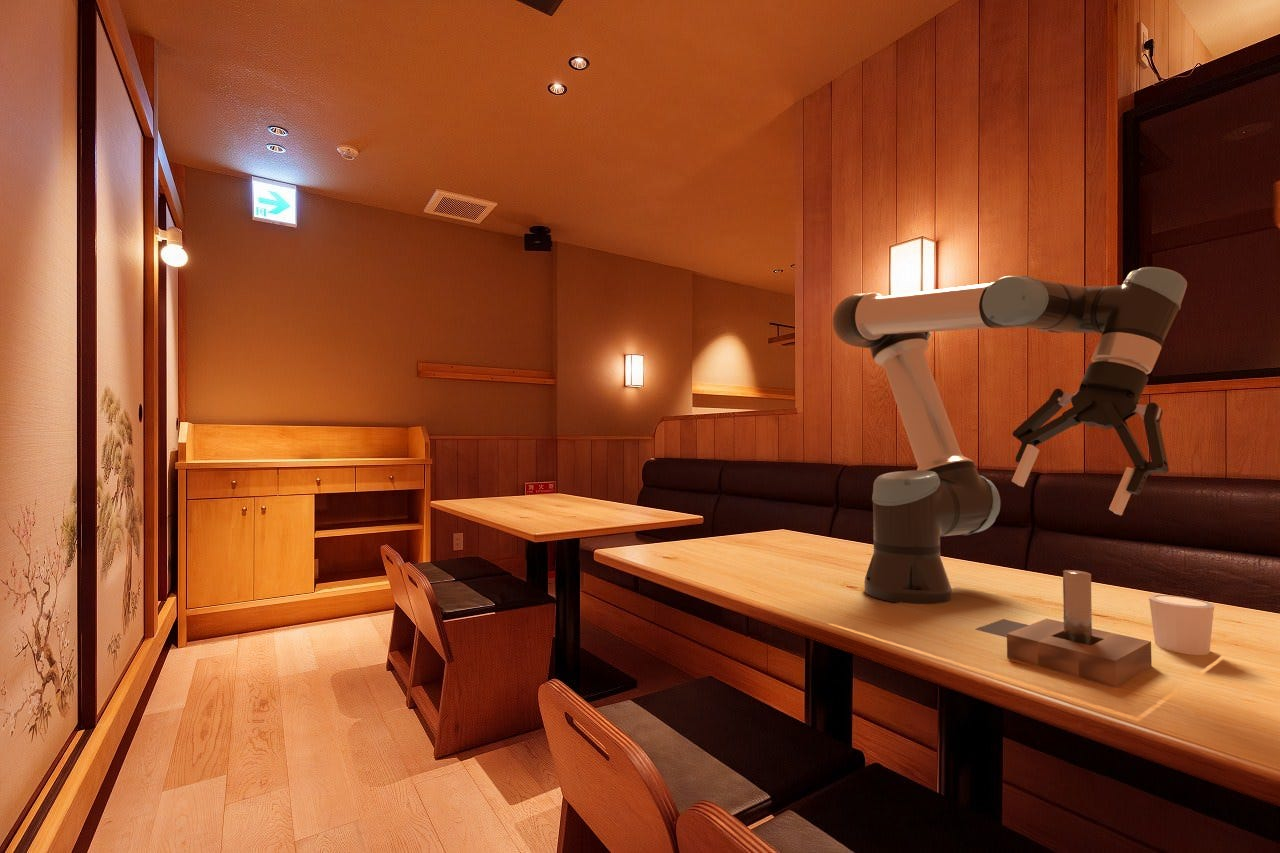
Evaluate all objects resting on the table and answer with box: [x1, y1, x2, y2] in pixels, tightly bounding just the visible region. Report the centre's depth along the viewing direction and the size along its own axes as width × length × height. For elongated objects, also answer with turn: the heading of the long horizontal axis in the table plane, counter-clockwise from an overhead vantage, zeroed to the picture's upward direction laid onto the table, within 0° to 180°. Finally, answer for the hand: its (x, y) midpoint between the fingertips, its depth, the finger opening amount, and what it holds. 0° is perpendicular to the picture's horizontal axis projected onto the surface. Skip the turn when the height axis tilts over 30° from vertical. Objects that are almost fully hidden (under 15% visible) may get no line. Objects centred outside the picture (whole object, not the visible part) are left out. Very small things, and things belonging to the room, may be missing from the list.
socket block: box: [1006, 618, 1153, 688], centre depth 79 cm, size 12×12×4 cm
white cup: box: [1148, 594, 1215, 656], centre depth 84 cm, size 7×7×7 cm
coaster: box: [975, 618, 1029, 638], centre depth 91 cm, size 9×9×1 cm
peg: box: [1062, 569, 1093, 646], centre depth 79 cm, size 3×3×12 cm
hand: (1063, 497), depth 91 cm, fingers open, 13 cm apart
